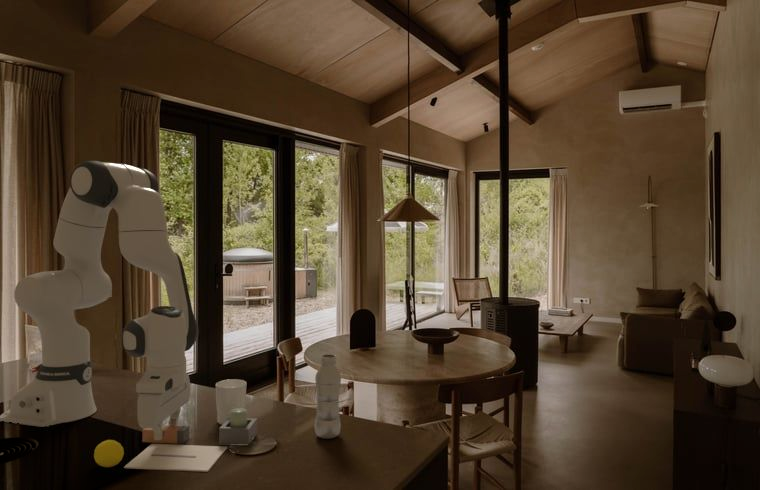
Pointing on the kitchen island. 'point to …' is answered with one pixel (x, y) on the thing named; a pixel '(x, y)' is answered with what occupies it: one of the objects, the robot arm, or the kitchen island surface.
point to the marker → (168, 435)
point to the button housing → (237, 433)
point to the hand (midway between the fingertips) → (166, 432)
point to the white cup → (229, 397)
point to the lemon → (108, 453)
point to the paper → (177, 457)
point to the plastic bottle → (327, 398)
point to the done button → (238, 417)
